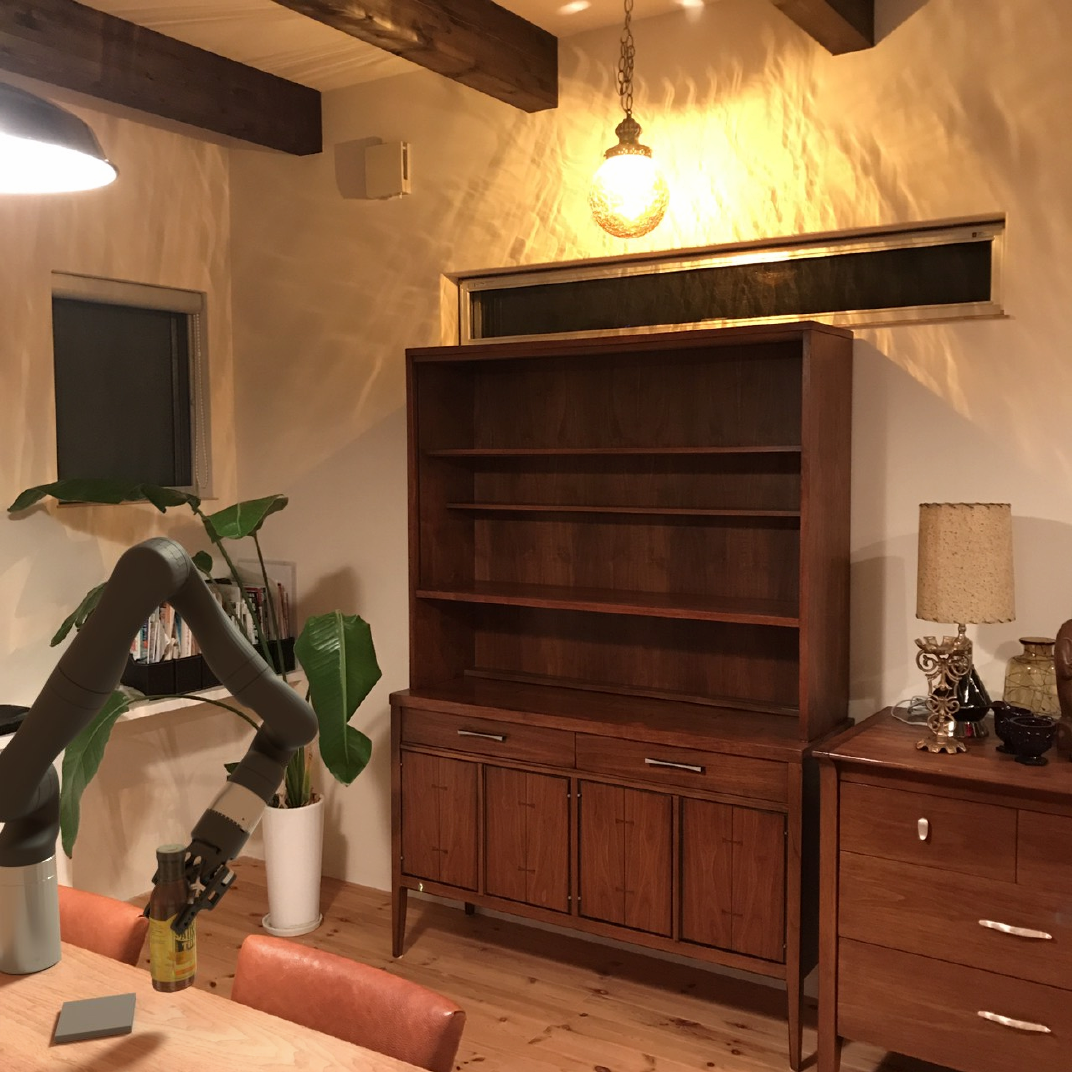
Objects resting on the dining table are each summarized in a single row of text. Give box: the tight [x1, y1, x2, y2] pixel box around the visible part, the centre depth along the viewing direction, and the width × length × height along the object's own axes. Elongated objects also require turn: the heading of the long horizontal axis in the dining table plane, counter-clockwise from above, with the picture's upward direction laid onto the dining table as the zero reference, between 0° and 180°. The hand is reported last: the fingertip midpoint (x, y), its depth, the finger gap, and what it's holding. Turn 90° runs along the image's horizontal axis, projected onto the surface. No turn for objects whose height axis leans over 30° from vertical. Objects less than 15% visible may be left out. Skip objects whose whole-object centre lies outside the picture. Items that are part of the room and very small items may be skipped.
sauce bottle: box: [148, 843, 198, 994], centre depth 164 cm, size 7×6×20 cm
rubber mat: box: [54, 992, 137, 1044], centre depth 166 cm, size 10×10×1 cm
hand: (161, 924), depth 163 cm, fingers closed on sauce bottle, 6 cm apart
